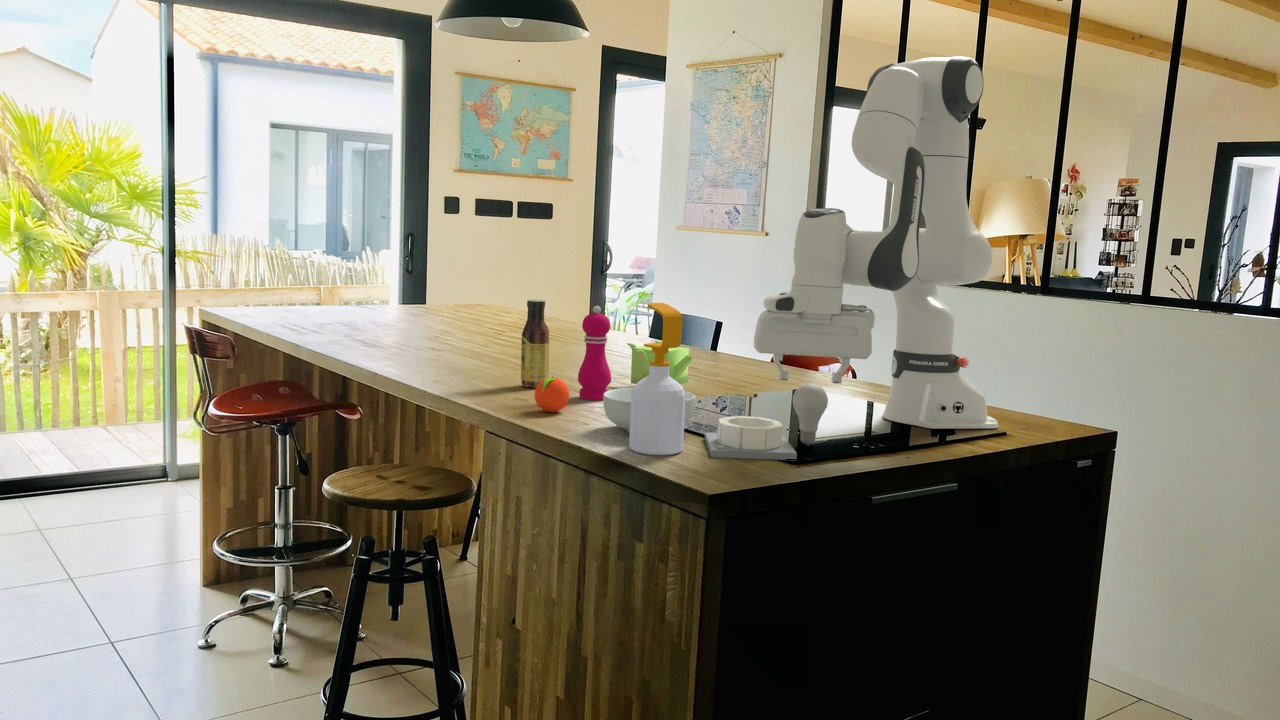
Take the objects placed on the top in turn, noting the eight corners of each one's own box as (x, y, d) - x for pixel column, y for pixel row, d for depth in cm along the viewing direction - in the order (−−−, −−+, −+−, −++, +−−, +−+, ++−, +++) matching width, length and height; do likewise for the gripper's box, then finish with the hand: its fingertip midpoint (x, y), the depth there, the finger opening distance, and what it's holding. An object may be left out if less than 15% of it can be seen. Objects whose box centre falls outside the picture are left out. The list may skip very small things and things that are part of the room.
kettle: (635, 394, 219) (637, 344, 217) (620, 384, 232) (621, 337, 231) (698, 393, 222) (701, 344, 221) (680, 384, 236) (682, 337, 235)
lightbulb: (827, 443, 174) (831, 382, 173) (822, 450, 169) (826, 387, 167) (793, 440, 176) (796, 379, 175) (786, 446, 171) (790, 384, 169)
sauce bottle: (524, 383, 227) (526, 298, 224) (550, 385, 226) (553, 299, 223) (517, 388, 220) (519, 300, 217) (544, 389, 219) (546, 301, 217)
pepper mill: (617, 398, 212) (620, 306, 210) (598, 402, 206) (601, 307, 204) (589, 394, 216) (592, 303, 214) (570, 398, 210) (573, 305, 208)
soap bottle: (656, 441, 170) (662, 301, 167) (693, 451, 164) (701, 305, 160) (617, 448, 164) (623, 302, 161) (655, 458, 158) (662, 306, 154)
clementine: (558, 417, 188) (559, 381, 188) (525, 414, 191) (526, 378, 190) (574, 410, 196) (575, 375, 195) (542, 407, 198) (543, 372, 197)
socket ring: (775, 437, 172) (776, 417, 172) (784, 450, 162) (785, 429, 162) (715, 434, 172) (716, 415, 172) (721, 448, 162) (722, 427, 161)
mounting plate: (782, 441, 174) (783, 433, 174) (796, 460, 160) (797, 451, 160) (704, 439, 174) (705, 430, 174) (711, 457, 160) (711, 448, 160)
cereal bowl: (648, 419, 191) (650, 383, 190) (712, 434, 179) (714, 396, 178) (583, 429, 179) (584, 391, 178) (647, 445, 167) (648, 405, 166)
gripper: (871, 304, 172) (864, 382, 174) (755, 298, 172) (749, 375, 173) (880, 307, 166) (873, 387, 168) (760, 300, 166) (754, 380, 167)
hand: (809, 381), depth 171 cm, fingers open, 8 cm apart
